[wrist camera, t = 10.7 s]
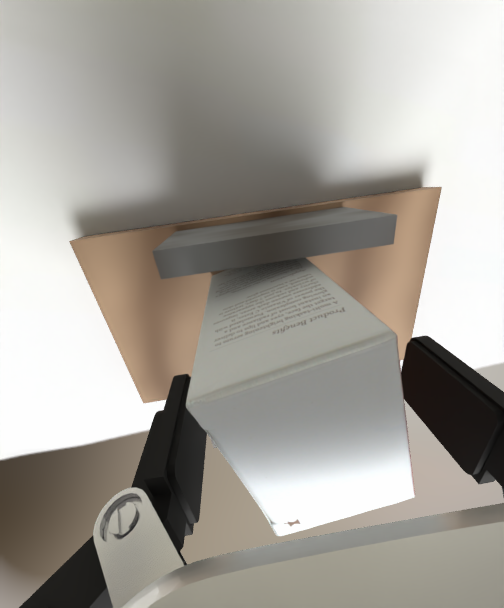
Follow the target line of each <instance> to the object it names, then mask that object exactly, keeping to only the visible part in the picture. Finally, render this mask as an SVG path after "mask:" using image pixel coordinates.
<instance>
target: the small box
mask: <svg viewBox="0 0 504 608" xmlns="http://www.w3.org/2000/svg"><path fill="white" fill-rule="evenodd" d="M186 408H187V409H188V411H189V412H190V413H191V414H192V416H193V417H194V418H195V419H196V420H197V422H198V423H199V425H200V426H201V427H202V428H203V429H204V430H205V431H206V433H207V434H208V435H209V437H210V438H211V439H212V440H213V442H214V443H215V445H216V446H217V447H218V449H219V450H220V452H221V453H222V454H223V456H224V457H225V459H226V460H227V461H228V462H229V464H230V465H231V467H232V468H233V469H234V471H235V472H236V474H237V475H238V477H239V478H240V480H241V481H242V482H243V484H244V485H245V487H246V488H247V489H248V491H249V492H250V494H251V495H252V497H253V498H254V499H255V501H256V502H257V504H258V506H259V507H260V508H261V510H262V511H263V513H264V515H265V516H266V518H267V519H268V521H269V523H270V525H271V527H272V529H273V530H274V532H275V534H276V535H277V536H283V535H287V534H290V533H293V532H298V531H301V530H305V529H308V528H312V527H315V526H318V525H321V524H325V523H329V522H332V521H335V520H339V519H343V518H346V517H350V516H353V515H356V514H359V513H363V512H366V511H370V510H373V509H377V508H380V507H384V506H388V505H391V504H395V503H398V502H401V501H404V500H407V499H410V498H413V497H415V490H414V481H413V472H412V464H411V455H410V448H409V440H408V430H407V421H406V414H405V404H404V396H403V387H402V379H401V368H400V359H399V351H398V337H397V334H396V333H395V332H394V331H393V330H392V329H390V328H389V327H388V326H387V325H386V324H385V323H383V322H382V321H381V320H380V319H378V318H377V317H376V316H375V315H374V314H373V313H371V312H370V311H369V310H368V309H367V308H365V307H364V306H363V305H362V304H361V303H359V302H358V301H357V300H356V299H354V298H353V297H352V296H351V295H350V294H349V293H347V292H346V291H345V290H344V289H342V288H341V287H340V286H339V285H338V284H337V283H335V282H334V281H333V280H332V279H331V278H329V277H328V276H327V275H326V274H324V273H323V272H322V271H321V270H320V269H319V268H317V267H316V266H315V265H314V264H313V263H312V262H310V261H309V260H308V259H307V258H299V259H293V260H286V261H280V262H273V263H266V264H260V265H253V266H247V267H240V268H234V269H228V270H225V271H223V272H220V273H218V274H215V275H213V276H212V277H211V282H210V287H209V292H208V297H207V301H206V306H205V311H204V316H203V321H202V326H201V330H200V335H199V341H198V345H197V350H196V355H195V361H194V365H193V370H192V376H191V380H190V385H189V390H188V395H187V400H186Z"/></svg>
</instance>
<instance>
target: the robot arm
mask: <svg viewBox="0 0 504 608" xmlns="http://www.w3.org/2000/svg"><path fill="white" fill-rule="evenodd" d="M401 379H402V387H403V396H404V399H405V401H406V402H407V403H408V404H409V405H410V407H411V408H412V409H413V410H414V412H415V413H416V414H417V415H418V416H419V418H420V419H421V420H422V421H423V422H424V423H425V424H426V426H427V427H428V428H429V429H430V431H431V432H432V433H433V434H434V435H435V437H436V438H437V439H438V440H439V442H440V443H441V444H442V445H443V446H444V448H445V449H446V450H447V451H448V452H449V453H450V455H451V456H452V457H453V458H454V460H455V461H456V462H457V463H458V464H459V465H460V467H461V468H462V469H463V470H464V471H465V472H466V473H467V474H470V475H472V477H473V478H474V479H475V480H476V481H477V482H478V484H483V483H488V482H493V481H495V480H496V481H497V482H498V483H499V484H500V485H501V486H502V490H503V497H504V392H503V391H501V390H500V389H499V388H497V387H496V386H495V385H493V384H492V383H491V382H489V381H488V380H487V379H485V378H484V377H483V376H481V375H480V374H479V373H477V372H476V371H475V370H473V369H472V368H471V367H469V366H468V365H466V364H465V363H464V362H462V361H461V360H460V359H458V358H457V357H456V356H454V355H453V354H452V353H450V352H449V351H448V350H446V349H445V348H444V347H442V346H441V345H440V344H438V343H437V342H435V341H434V340H433V339H431V338H430V337H428V336H421V337H414V338H411V339H410V341H409V342H408V343H407V345H406V350H405V356H404V361H403V366H402V371H401ZM190 380H191V377H190V376H189V374H182V375H176V376H174V377H173V380H172V383H171V387H170V390H169V394H168V397H167V400H166V404H165V407H164V410H163V411H158V412H157V413H156V414H155V416H154V419H153V422H152V425H151V428H150V432H149V435H148V438H147V441H146V444H145V447H144V450H143V453H142V456H141V460H140V462H139V465H138V469H137V472H136V475H135V478H134V481H133V484H132V487H131V488H128V489H126V490H123V491H121V492H120V493H118V494H117V495H115V496H114V497H113V498H112V499H111V500H110V501H109V502H108V503H107V504H106V505H105V507H104V508H103V509H102V511H101V512H100V514H99V516H98V519H97V520H96V523H95V527H94V531H93V536H92V537H91V538H90V539H89V540H88V541H87V542H86V543H85V544H84V545H83V546H82V547H81V548H80V549H79V550H78V551H77V552H76V553H75V554H74V555H73V556H72V557H71V558H70V559H69V560H67V561H66V563H64V565H62V566H61V567H60V568H59V569H58V570H57V571H56V572H55V573H54V574H53V575H52V576H51V577H50V578H49V579H48V580H47V581H46V582H45V583H44V584H43V585H42V586H41V587H40V588H39V589H38V590H37V591H36V592H35V593H34V594H33V595H32V596H31V597H30V598H29V599H28V600H27V601H26V602H24V603H23V605H21V606H20V607H19V608H504V503H502V504H496V505H490V506H485V507H478V508H472V509H467V510H461V511H455V512H449V513H443V514H437V515H432V516H426V517H420V518H415V519H409V520H404V521H398V522H392V523H387V524H381V525H375V526H370V527H364V528H358V529H353V530H347V531H342V532H336V533H331V534H325V535H320V536H314V537H309V538H304V539H298V540H293V541H287V542H282V543H276V544H271V545H266V546H261V547H257V548H251V549H246V550H242V551H237V552H232V553H227V554H222V555H219V556H215V557H211V558H207V559H204V560H200V561H196V562H193V563H191V564H188V565H187V563H186V561H185V560H184V558H183V556H182V555H181V552H180V550H181V549H182V548H183V544H184V537H185V536H186V535H192V534H193V526H194V523H197V522H198V521H199V515H200V504H201V493H202V482H203V470H204V459H205V448H206V436H207V433H206V431H205V430H204V429H203V428H202V427H201V426H200V425H199V423H198V422H197V420H196V419H195V418H194V417H193V416H192V414H191V413H190V412H189V411H188V409H187V408H186V400H187V395H188V390H189V385H190Z"/></svg>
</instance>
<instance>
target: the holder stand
mask: <svg viewBox="0 0 504 608" xmlns="http://www.w3.org/2000/svg"><path fill="white" fill-rule="evenodd" d="M441 188H442V187H422V188H416V189H409V190H402V191H395V192H388V193H381V194H374V195H367V196H360V197H354V198H347V199H340V200H333V201H326V202H319V203H312V204H305V205H298V206H292V207H285V208H278V209H271V210H264V211H257V212H250V213H243V214H236V215H230V216H223V217H216V218H209V219H202V220H195V221H188V222H181V223H174V224H167V225H161V226H154V227H147V228H140V229H133V230H126V231H119V232H112V233H105V234H99V235H92V236H85V237H81V238H78V239H75V240H72V241H69V242H70V244H71V246H72V248H73V250H74V253H75V255H76V257H77V259H78V261H79V263H80V266H81V268H82V270H83V272H84V274H85V277H86V279H87V281H88V283H89V285H90V287H91V290H92V292H93V294H94V296H95V298H96V301H97V303H98V305H99V307H100V309H101V311H102V314H103V316H104V318H105V320H106V322H107V325H108V327H109V329H110V331H111V333H112V335H113V338H114V340H115V342H116V344H117V346H118V349H119V351H120V353H121V355H122V357H123V360H124V362H125V364H126V366H127V368H128V370H129V373H130V375H131V377H132V379H133V381H134V384H135V386H136V388H137V390H138V392H139V394H140V397H141V399H142V401H143V403H148V402H154V401H160V400H166V399H167V397H168V394H169V390H170V387H171V383H172V380H173V377H174V376H176V375H182V374H189V376H190V377H191V376H192V370H193V365H194V361H195V355H196V350H197V345H198V341H199V335H200V330H201V326H202V321H203V316H204V311H205V306H206V301H207V297H208V292H209V287H210V282H211V277H212V276H213V275H215V274H218V273H220V272H223V271H225V270H228V269H234V268H240V267H247V266H253V265H260V264H266V263H273V262H280V261H286V260H293V259H299V258H307V259H308V260H309V261H310V262H312V263H313V264H314V265H315V266H316V267H317V268H319V269H320V270H321V271H322V272H323V273H324V274H326V275H327V276H328V277H329V278H331V279H332V280H333V281H334V282H335V283H337V284H338V285H339V286H340V287H341V288H342V289H344V290H345V291H346V292H347V293H349V294H350V295H351V296H352V297H353V298H354V299H356V300H357V301H358V302H359V303H361V304H362V305H363V306H364V307H365V308H367V309H368V310H369V311H370V312H371V313H373V314H374V315H375V316H376V317H377V318H378V319H380V320H381V321H382V322H383V323H385V324H386V325H387V326H388V327H389V328H390V329H392V330H393V331H394V332H395V333H396V334H397V337H398V351H399V359H400V360H404V356H405V350H406V345H407V343H408V342H409V341H410V339H411V338H412V333H413V328H414V323H415V318H416V313H417V308H418V303H419V298H420V293H421V288H422V283H423V278H424V273H425V268H426V263H427V258H428V253H429V248H430V243H431V238H432V233H433V228H434V223H435V218H436V213H437V208H438V203H439V198H440V193H441ZM211 441H212V444H213V447H214V448H217V446H216V445H215V443H214V442H213V440H212V439H211Z"/></svg>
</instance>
